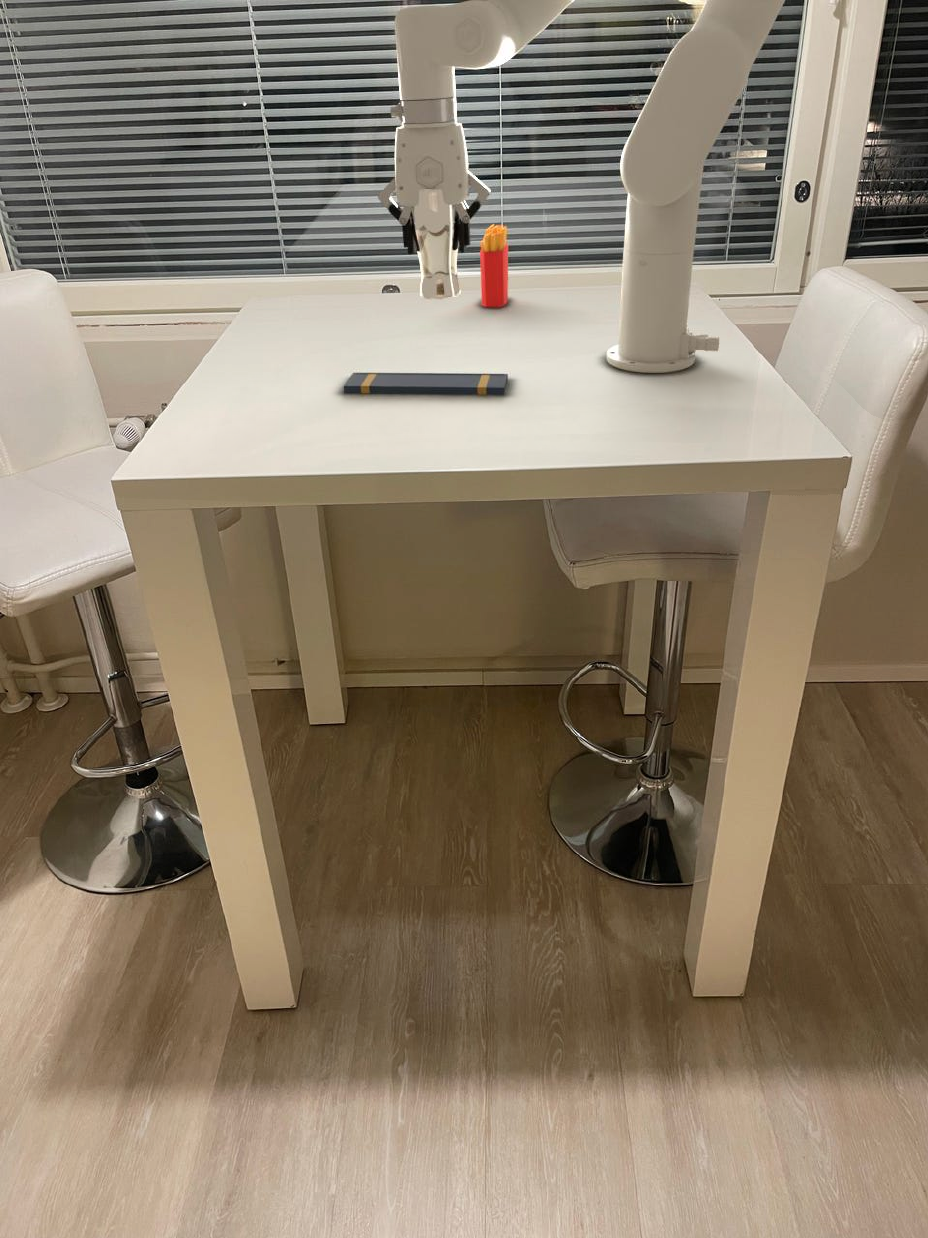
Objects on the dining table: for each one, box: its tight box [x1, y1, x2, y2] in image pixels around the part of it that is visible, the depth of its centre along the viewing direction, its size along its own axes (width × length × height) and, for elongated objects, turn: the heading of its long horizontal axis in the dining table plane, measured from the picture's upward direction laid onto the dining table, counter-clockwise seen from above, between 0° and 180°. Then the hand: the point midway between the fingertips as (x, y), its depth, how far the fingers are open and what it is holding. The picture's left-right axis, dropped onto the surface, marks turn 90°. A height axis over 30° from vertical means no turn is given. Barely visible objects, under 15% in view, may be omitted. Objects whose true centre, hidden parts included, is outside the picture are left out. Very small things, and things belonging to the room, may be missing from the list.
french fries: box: [479, 223, 509, 308], centre depth 167 cm, size 9×4×13 cm, turn 168°
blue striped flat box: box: [343, 372, 509, 396], centre depth 130 cm, size 22×6×1 cm, turn 83°
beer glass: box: [411, 188, 462, 301], centre depth 137 cm, size 7×7×15 cm
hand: (437, 250), depth 138 cm, fingers closed on beer glass, 6 cm apart
